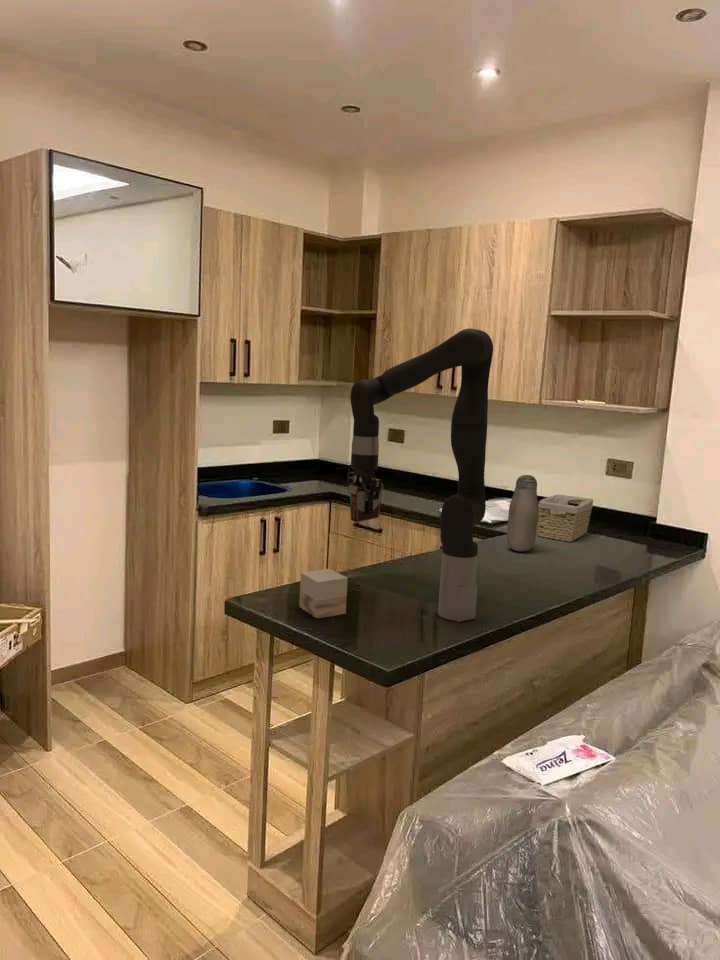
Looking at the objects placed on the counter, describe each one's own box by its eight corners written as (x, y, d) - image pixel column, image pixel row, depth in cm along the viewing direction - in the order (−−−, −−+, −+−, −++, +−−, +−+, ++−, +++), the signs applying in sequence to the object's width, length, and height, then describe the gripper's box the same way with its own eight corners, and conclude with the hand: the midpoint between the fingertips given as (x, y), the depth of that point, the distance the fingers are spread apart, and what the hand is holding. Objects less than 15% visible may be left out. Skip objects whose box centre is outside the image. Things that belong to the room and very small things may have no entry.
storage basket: (552, 527, 311) (556, 492, 308) (591, 533, 302) (595, 498, 300) (533, 537, 291) (537, 500, 288) (574, 544, 282) (578, 507, 280)
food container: (365, 513, 213) (367, 479, 211) (381, 517, 209) (384, 482, 207) (337, 518, 204) (338, 483, 202) (353, 523, 200) (355, 487, 198)
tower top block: (346, 596, 193) (347, 577, 192) (316, 601, 188) (317, 582, 187) (329, 586, 200) (330, 568, 199) (300, 590, 195) (300, 572, 195)
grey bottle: (523, 555, 261) (530, 478, 256) (500, 549, 268) (506, 474, 264) (539, 552, 267) (547, 476, 263) (516, 545, 275) (523, 472, 270)
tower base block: (345, 614, 194) (346, 596, 193) (316, 619, 189) (316, 600, 188) (328, 603, 201) (329, 586, 200) (299, 608, 196) (300, 590, 195)
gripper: (391, 455, 199) (388, 515, 202) (361, 448, 211) (358, 506, 213) (368, 456, 195) (365, 518, 198) (339, 449, 206) (337, 507, 209)
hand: (362, 511), depth 206 cm, fingers closed on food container, 5 cm apart
